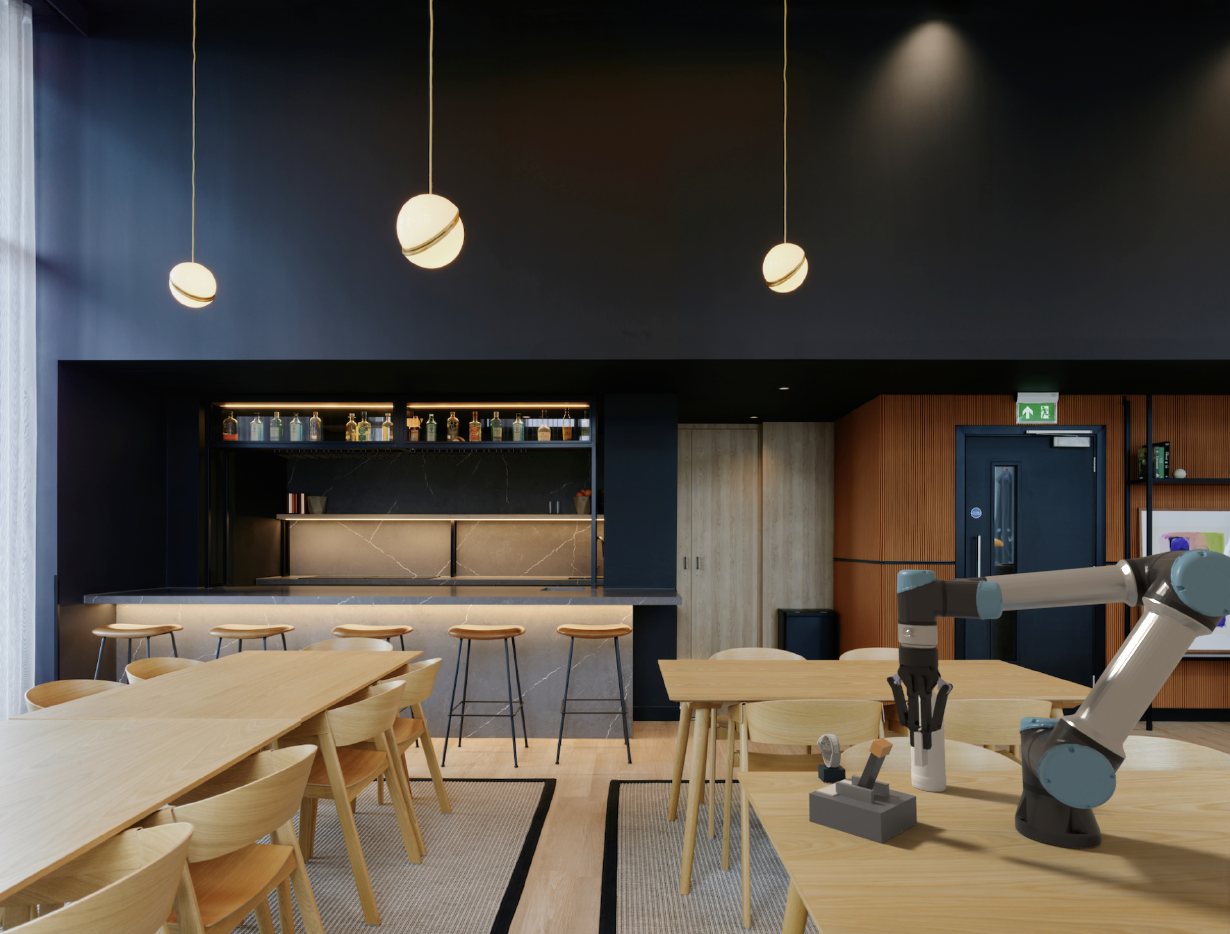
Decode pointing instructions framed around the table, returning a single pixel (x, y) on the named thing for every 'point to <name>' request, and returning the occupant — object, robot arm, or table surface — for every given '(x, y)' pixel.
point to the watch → (830, 759)
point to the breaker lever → (874, 762)
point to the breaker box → (863, 809)
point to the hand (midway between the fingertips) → (921, 764)
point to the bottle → (931, 760)
